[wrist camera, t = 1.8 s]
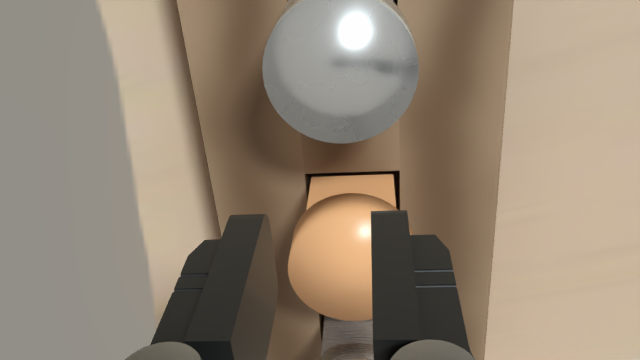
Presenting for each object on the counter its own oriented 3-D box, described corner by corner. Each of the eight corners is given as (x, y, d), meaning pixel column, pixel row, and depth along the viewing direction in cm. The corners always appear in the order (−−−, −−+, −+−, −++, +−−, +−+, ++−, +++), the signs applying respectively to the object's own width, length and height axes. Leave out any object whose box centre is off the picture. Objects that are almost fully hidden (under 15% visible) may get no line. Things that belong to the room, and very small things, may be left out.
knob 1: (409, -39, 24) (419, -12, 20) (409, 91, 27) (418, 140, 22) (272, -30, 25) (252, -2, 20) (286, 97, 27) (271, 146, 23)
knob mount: (503, -114, 26) (522, -107, 22) (471, 358, 39) (480, 403, 36) (185, -89, 27) (161, -79, 24) (261, 359, 41) (253, 403, 37)
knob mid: (410, 158, 28) (418, 216, 24) (410, 253, 31) (417, 320, 27) (293, 163, 29) (281, 219, 25) (304, 255, 32) (294, 321, 27)
